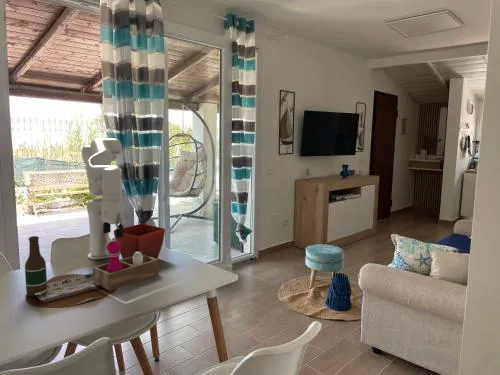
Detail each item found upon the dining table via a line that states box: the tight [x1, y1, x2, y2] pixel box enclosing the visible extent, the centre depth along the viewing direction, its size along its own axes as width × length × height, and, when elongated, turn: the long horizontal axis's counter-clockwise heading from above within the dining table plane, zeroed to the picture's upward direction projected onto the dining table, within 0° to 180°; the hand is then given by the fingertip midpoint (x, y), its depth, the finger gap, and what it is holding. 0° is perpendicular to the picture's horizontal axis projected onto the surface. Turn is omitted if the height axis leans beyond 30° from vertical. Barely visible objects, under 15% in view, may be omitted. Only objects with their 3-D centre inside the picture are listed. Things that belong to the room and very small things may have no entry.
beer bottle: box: [24, 235, 48, 298], centre depth 153 cm, size 8×8×24 cm
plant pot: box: [113, 223, 166, 259], centre depth 196 cm, size 19×19×17 cm
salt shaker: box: [133, 252, 143, 266], centre depth 174 cm, size 4×4×11 cm
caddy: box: [92, 254, 159, 291], centre depth 170 cm, size 13×25×8 cm, turn 142°
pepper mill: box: [106, 237, 123, 273], centre depth 164 cm, size 7×7×20 cm
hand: (113, 234), depth 163 cm, fingers open, 9 cm apart
